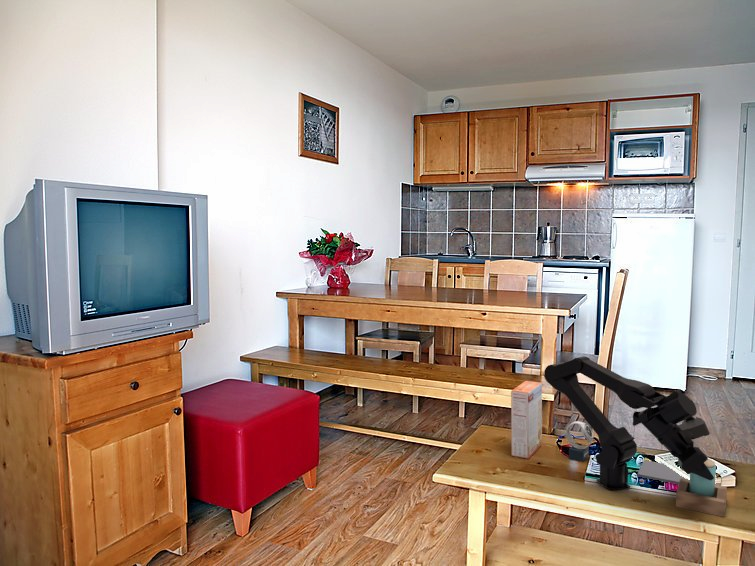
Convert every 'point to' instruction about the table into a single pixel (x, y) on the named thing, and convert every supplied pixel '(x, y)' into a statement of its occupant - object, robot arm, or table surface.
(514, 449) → the cracker box
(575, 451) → the watch
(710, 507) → the walnut frame
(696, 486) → the teal jar
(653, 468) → the gray rectangular panel
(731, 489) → the table surface
